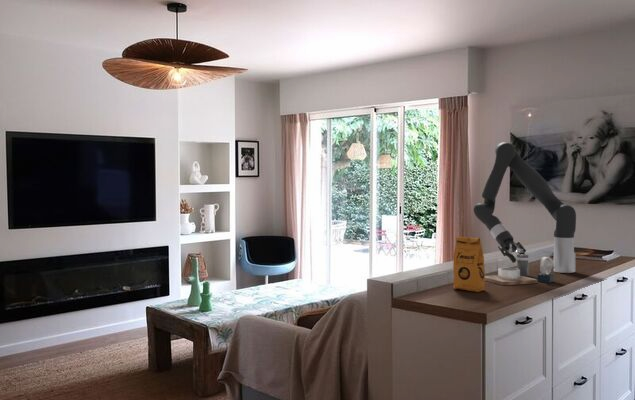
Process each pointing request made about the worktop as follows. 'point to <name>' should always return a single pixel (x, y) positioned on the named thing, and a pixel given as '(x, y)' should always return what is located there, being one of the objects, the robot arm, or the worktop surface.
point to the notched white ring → (509, 273)
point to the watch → (546, 270)
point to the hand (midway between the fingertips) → (520, 261)
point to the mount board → (510, 282)
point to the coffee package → (469, 264)
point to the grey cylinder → (522, 264)
